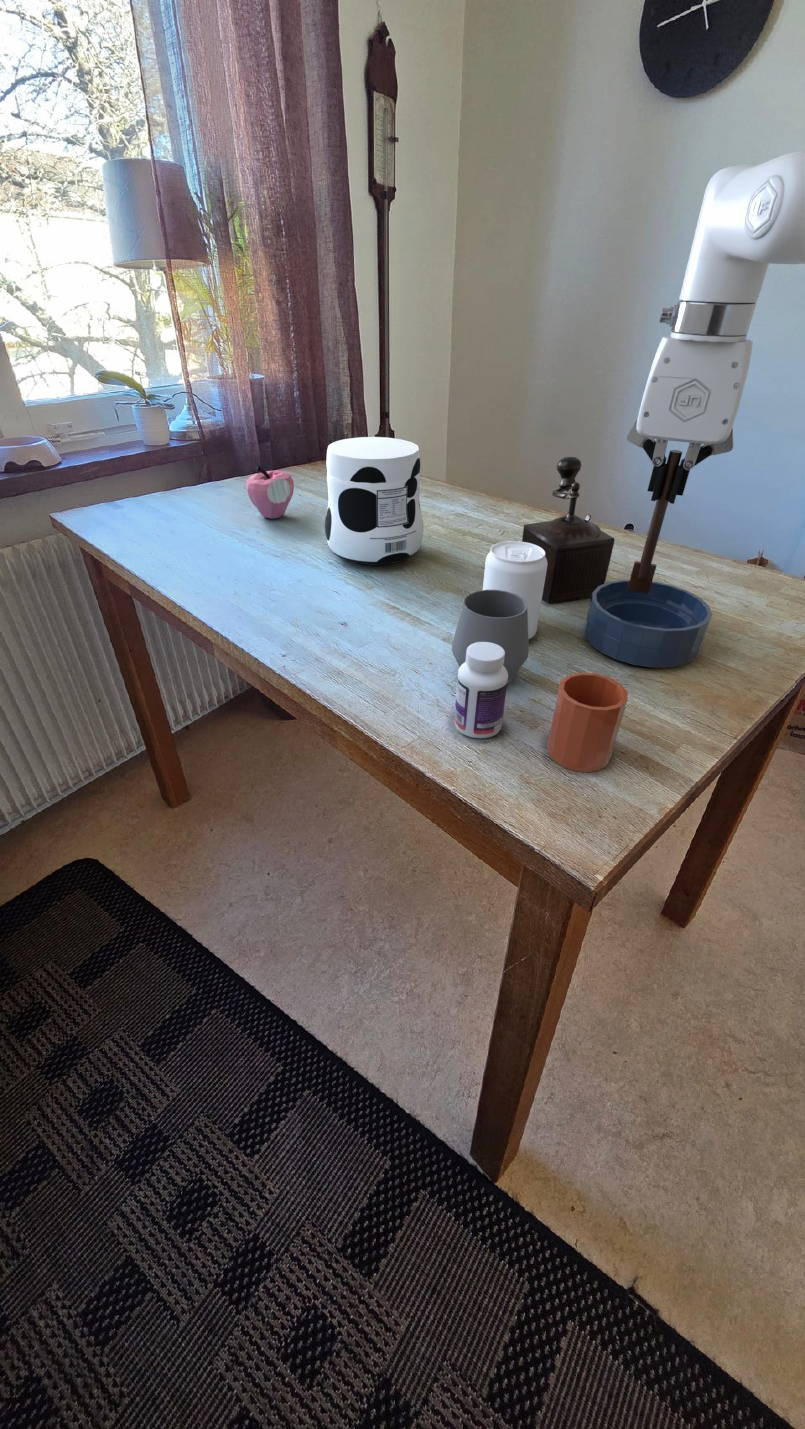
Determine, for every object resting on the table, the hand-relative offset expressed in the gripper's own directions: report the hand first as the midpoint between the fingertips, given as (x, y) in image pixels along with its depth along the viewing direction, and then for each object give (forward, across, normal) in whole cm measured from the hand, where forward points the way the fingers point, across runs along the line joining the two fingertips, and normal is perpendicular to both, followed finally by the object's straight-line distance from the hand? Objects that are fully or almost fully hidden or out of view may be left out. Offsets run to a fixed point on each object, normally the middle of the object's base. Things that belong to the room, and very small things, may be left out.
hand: (663, 498), depth 75 cm
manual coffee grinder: (+19, -14, +14) cm, 27 cm away
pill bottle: (+19, -13, -30) cm, 37 cm away
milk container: (+19, -45, +12) cm, 51 cm away
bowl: (+19, +2, -2) cm, 19 cm away
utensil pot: (+19, -2, -30) cm, 35 cm away
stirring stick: (+13, 0, 0) cm, 13 cm away
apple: (+20, -73, +21) cm, 78 cm away
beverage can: (+19, -16, -7) cm, 26 cm away
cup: (+19, -15, -19) cm, 31 cm away
